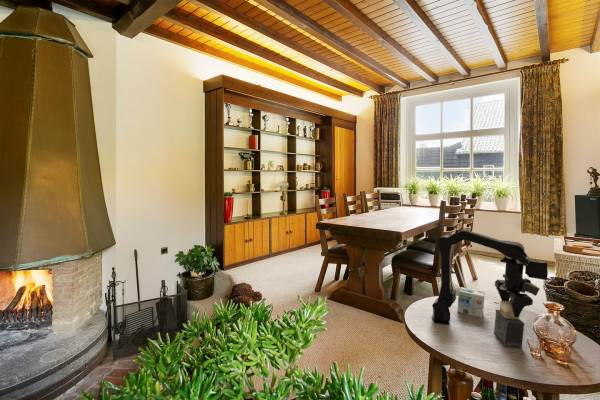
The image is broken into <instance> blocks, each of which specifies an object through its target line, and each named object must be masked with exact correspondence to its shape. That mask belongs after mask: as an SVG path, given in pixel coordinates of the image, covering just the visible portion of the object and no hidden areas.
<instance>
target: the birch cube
mask: <svg viewBox="0 0 600 400" xmlns="http://www.w3.org/2000/svg"><path fill="white" fill-rule="evenodd" d="M499 310H500V313H501V314H502V315H503V316H504V317H505V318H509V319H521V318H520V317H521V316H520V315H521V314H520V315H519V317H518V318H516V317H514V314H513V310H512V307H511V304H510V300H509V301H502V300H500V302H499Z"/></svg>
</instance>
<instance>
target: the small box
mask: <svg viewBox="0 0 600 400" xmlns="http://www.w3.org/2000/svg"><path fill="white" fill-rule="evenodd" d="M493 328H494V329H493V333H494V335H495V336H496V337H497V338H498V340H499V341H500V342H501V344H502V345H503V346H504V347H509V348H517V349H522V348H523V339H524V331H525V329H524V328H525V322H524V321H523V320H522V319H521V318H519V319H509V318H505V317H504V316H503V315H502V314H501V313H500V309H495V319H494V327H493Z"/></svg>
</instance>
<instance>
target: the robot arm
mask: <svg viewBox="0 0 600 400" xmlns="http://www.w3.org/2000/svg"><path fill="white" fill-rule="evenodd" d="M462 241H468V242H471V243H475V244H477V245H480V246H484V247H486V248H489V249H492V250H495V251H497V252H499V253H500V254H502V255H504V256H503V257H501V258H500V260H499V262H500V263H505V269H504V270H505V271H504V273H503V274H502V277H503V278H504V279H497V280H495V281H494V287H495V289H496V291H497V293H498V295H499V298H500V301H510V304H511V307H512V310H513V314H514V317H516V318H518V317H519V315H521V313H522V311H523V310H524V308H525V307H530V306H533V304H534V299H533V298H532V297H530V295H528V294H527V293H529V294H531V295H532V296H535V297H536V296H537V295H538V293H539V291H540V289H541V288H540V287H538V286H537V285H535V284H533V283H532V281H531V279H529V278H532V279H538V280H541V281H548V275H549V274H548V273H549V272H548V271H549V270H548V262H547V261H538V260H534V259H533V260H532V259H530V256H528V255H527V253H526V251H525V246H524V245H523V244H522V243H520V242H518V241H510V240H503V239H502V240H501V239H496V238H494V237H491V236H487V235H484V234H481V233H478V232H475V231H472V230H469V229H467V228H466V229H465V228H464V229H462V230H460V231H457V232H455V233H453V234H445V235H443V236H441V237H440V238H438V240H437V242H436V243H437V249H438V252H439V254H440V284H441V285H440V288H439V289H440V290H439V292H438V298H436V299H435V301H434V302H433V303H432V305H431V306H432V315H431V318H432V320H433V322H434V324H443V325H451V323H450V321H451V311H450V309H449V308H451V307H452V306H453V304H455V302H456V300H457V296H456V295H457V294H456V293H457V290H456V289H453V287H452V255H453V251H454V249H455V248H454V247H455V245H456V244H458V243H460V242H462ZM524 266H525V270H524ZM523 274H525V275H526V277H528V278H526V277H524V278H523ZM526 292H527V293H526Z"/></svg>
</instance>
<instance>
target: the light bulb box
mask: <svg viewBox="0 0 600 400" xmlns="http://www.w3.org/2000/svg"><path fill="white" fill-rule="evenodd" d="M485 292H486V291H483V290H477V289H472V288H467V287H462V286H460V288H459V290H458V298H457V312H458V313H460V314H465V315H469V316H472V317H477V318H480V319H483V315H484V305H485V295H486V294H485ZM457 312H456V313H457Z"/></svg>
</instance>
